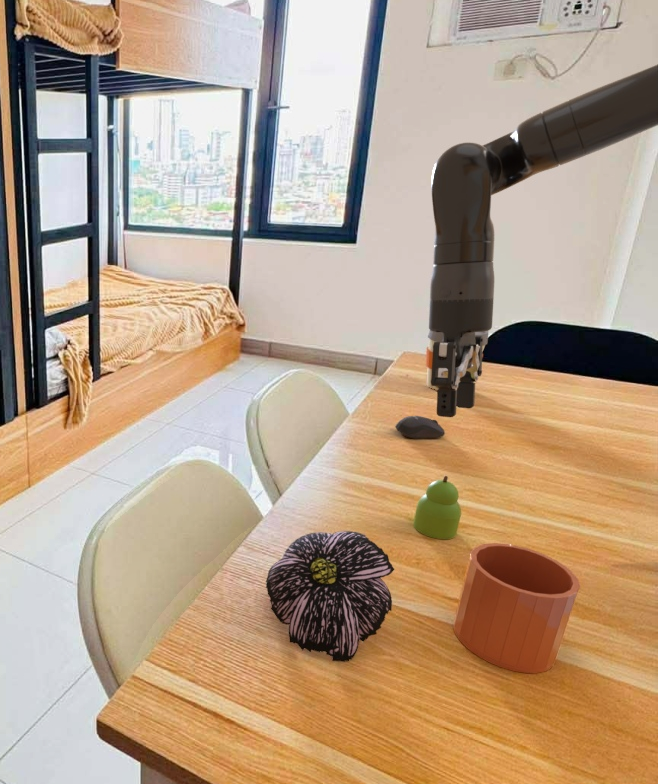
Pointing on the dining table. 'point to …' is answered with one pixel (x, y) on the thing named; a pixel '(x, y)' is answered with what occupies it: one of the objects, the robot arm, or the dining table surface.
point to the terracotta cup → (515, 607)
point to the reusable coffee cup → (439, 338)
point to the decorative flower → (331, 591)
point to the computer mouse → (419, 428)
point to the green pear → (438, 511)
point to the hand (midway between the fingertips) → (455, 411)
